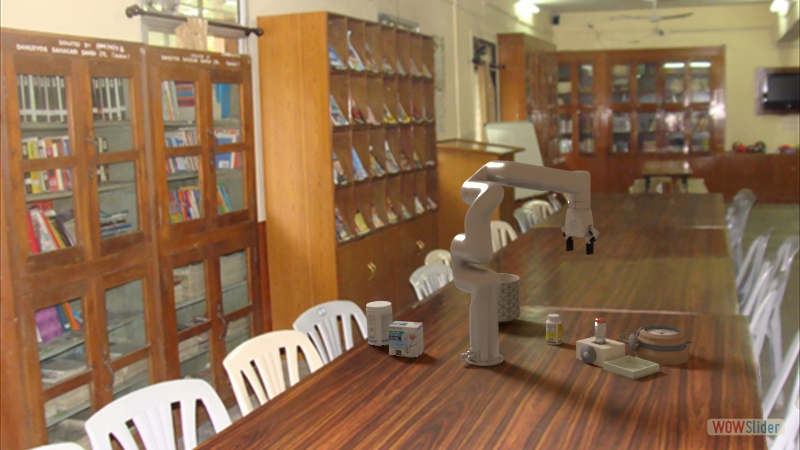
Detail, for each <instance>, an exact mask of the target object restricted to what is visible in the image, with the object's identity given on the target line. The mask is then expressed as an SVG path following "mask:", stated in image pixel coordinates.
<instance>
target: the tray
mask: <svg viewBox="0 0 800 450" xmlns="http://www.w3.org/2000/svg"><path fill="white" fill-rule="evenodd" d="M602 370H603V371H605V372H607V373H612V374H614V375H617V376H619V377H620V376H621V377H623V378H626V379H629V380H632V381H634V380H637V379H640V378H644V377H647V376H650V375H654V374H657V373H659V372H660V365H659V364H657V363H654V362H650V361H647V360H643V359H640V358H637V357H635V356H634V355H633V356H632V355H630V354H629V355H625V356H624V357H620V358H617V359H613V360H610V361H606V362H603V367H602Z"/></svg>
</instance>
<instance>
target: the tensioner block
mask: <svg viewBox="0 0 800 450" xmlns="http://www.w3.org/2000/svg"><path fill="white" fill-rule="evenodd" d="M624 356H626V344H625V342H620V341H617V340H613V339H610V338H607V337H606V344H604V345H598V344H595V335H594V336H591V337H588V338H584V339H583V338H582V339H579V340H575V357H576V359H577V360H579V361H582V362H584V363H586V364H590V365H591V364H592V365H595V366H597V367H601V368H603V362H606V361H610V360H613V359H617V358H620V357H624Z"/></svg>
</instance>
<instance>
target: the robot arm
mask: <svg viewBox="0 0 800 450" xmlns="http://www.w3.org/2000/svg"><path fill="white" fill-rule="evenodd" d="M504 187H509V188H517V189H523V190H528V191H529V190H531V191H540V192H554V193H558V194H559V193H560V194H568V202H567V205H568V208H567V209H566V214H565V220H564V221H565V222H564V225H563V226H561V228H560V230H561V231H562V232H561V233H562V235H563V237H564V240H565V251H566V252H571V251H574V239H573V238H579V239H584V240H585V241H586V244H585V255H588V256H589V255H593V254H594V252H595V251H594V244H595V243H596V241H597V240H598V237H599V234H600V231H598V229H596V228H595V227H594V218H593V217H594V216H593V211H592V208H591V173H590V172H589V170H573V171H571V170H565V169H559V168H553V167H547V166H543V165H537V164H531V163H525V162H520V161H512V160H496V159H495V160H490V161H488V162H487V163H486V164H484V165H482V166H481V167H480V168H479V169H478V170H477V171H475V172H474V174H472V175H471V176H470V177H469V178H468V179H466V180H465V181H464V183H463V184H462V185H461V188H460V192H459V193H460V198H461V200H462V202H463V203H465V204H466V205H467V206H469V208H468V209H467V212H466V214H465V216H464V220H463V221H464V232H462V233H458V234H457V235H455V236H454V237H453V238H452V241H451V243H450V248H449V255H450V265H451V272H452V279H453V282H454V285H455V287H456V288H457V289H458V290H459V291H461V292H464V293H467V294H473V298H472V301H471V302H470V304H469V309H468V315H469V317H468V318H469V319H468V320H469V347H467V351H466V352H462V353H459V354H458V356H457V357H458V359H459V360H464V359H465V362H466V363H467V364H469V365H472V366H477V367H492V366H496V365H497V366H498V365H499V364H501V363H503V362H504V356H503V355H502V354H500V352H499V347H500V346H499V326H498V298H499V292H500V286H501V281H500V277H499V275H498V274H497V273H498V272H496V271H495V270H493V269H491V268H489V267H484V266H480V265H487V264H488V263H490V262H491V261H492V259H493V258H494V257H493V256H494V248H493V238H492V237H493V235H492V230H491V229H492V228H491V220H492V216H493V214H494V213H495V211H496V209H497V208H498V207H499V206H500V205H501V203H502V202H503V200H504V197H505V189H504Z"/></svg>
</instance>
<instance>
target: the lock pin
mask: <svg viewBox="0 0 800 450" xmlns="http://www.w3.org/2000/svg"><path fill="white" fill-rule="evenodd" d="M594 336H595V344H598V345H604V344H606V338H607V318H606V317H595V318H594Z"/></svg>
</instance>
